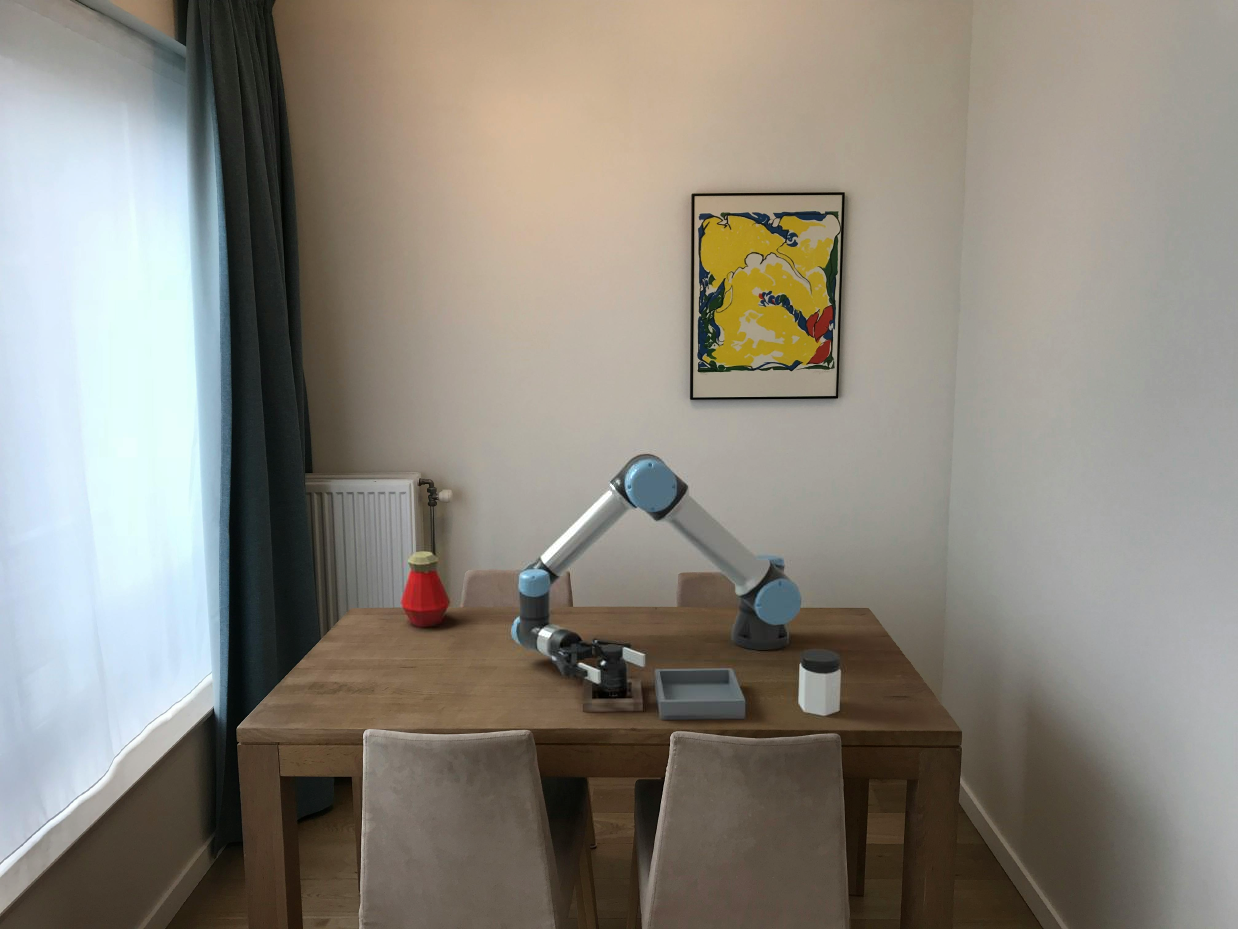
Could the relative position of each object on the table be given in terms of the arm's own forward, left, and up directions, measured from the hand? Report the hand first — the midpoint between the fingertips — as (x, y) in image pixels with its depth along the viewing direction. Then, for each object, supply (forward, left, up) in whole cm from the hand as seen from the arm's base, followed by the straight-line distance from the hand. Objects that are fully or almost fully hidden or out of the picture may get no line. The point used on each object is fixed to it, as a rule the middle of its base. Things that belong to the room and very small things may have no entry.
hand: (622, 668), depth 190 cm
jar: (-43, +4, -8) cm, 44 cm away
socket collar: (+2, -2, -8) cm, 9 cm away
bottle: (+54, -56, -8) cm, 79 cm away
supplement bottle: (+2, -2, -8) cm, 9 cm away
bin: (-17, 0, -8) cm, 19 cm away
